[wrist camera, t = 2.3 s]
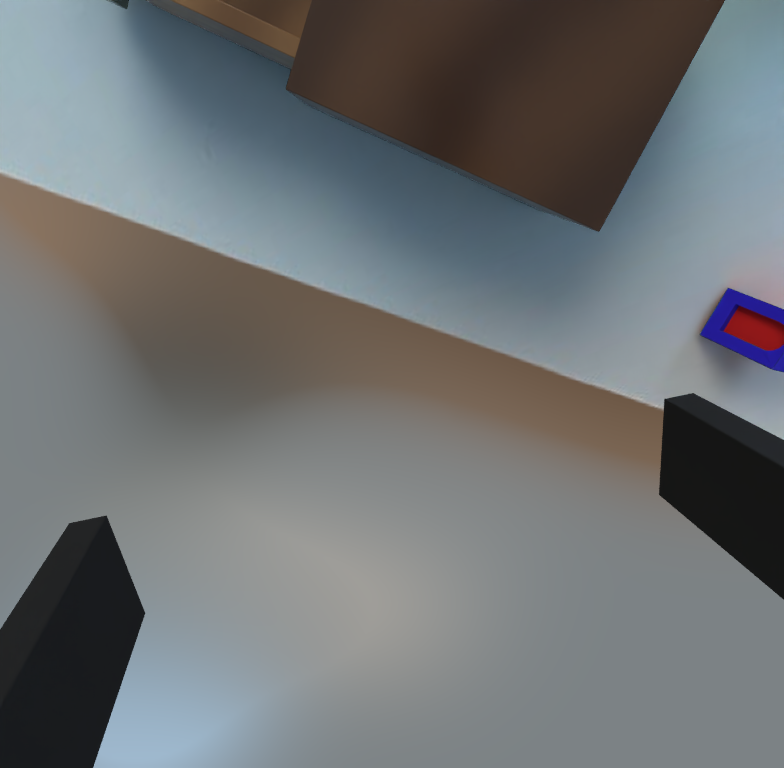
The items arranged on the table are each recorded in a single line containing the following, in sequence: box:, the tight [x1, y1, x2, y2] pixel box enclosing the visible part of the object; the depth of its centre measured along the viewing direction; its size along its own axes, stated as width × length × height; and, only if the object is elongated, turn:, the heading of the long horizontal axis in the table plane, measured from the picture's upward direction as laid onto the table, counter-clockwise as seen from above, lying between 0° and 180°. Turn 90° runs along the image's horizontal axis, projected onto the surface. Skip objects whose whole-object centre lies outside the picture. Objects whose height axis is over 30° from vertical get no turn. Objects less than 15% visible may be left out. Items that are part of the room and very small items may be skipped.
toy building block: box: [700, 288, 784, 372], centre depth 36 cm, size 4×4×8 cm
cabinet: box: [286, 0, 725, 232], centre depth 26 cm, size 16×14×10 cm
